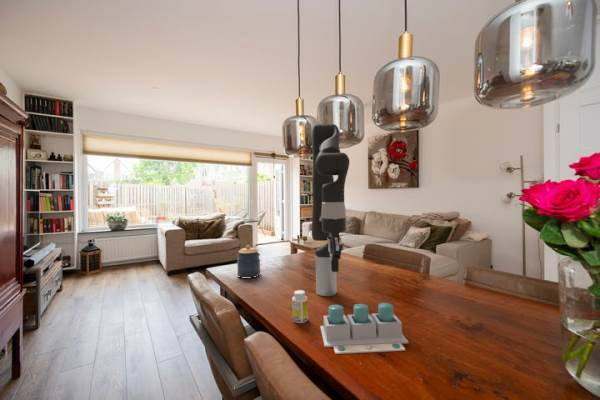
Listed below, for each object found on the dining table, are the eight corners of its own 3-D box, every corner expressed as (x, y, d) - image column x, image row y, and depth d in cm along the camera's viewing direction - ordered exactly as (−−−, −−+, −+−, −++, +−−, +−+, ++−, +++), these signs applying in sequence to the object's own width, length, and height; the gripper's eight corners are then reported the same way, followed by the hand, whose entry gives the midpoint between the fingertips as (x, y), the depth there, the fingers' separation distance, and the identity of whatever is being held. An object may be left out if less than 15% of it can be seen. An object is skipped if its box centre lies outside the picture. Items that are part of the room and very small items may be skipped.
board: (320, 327, 91) (319, 312, 91) (393, 324, 92) (392, 309, 92) (324, 347, 79) (324, 330, 79) (408, 343, 80) (408, 326, 80)
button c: (376, 321, 88) (376, 303, 88) (390, 320, 89) (390, 302, 88) (381, 328, 84) (381, 308, 84) (396, 327, 84) (395, 308, 84)
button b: (352, 322, 88) (351, 304, 88) (366, 321, 88) (365, 303, 88) (355, 329, 84) (355, 310, 83) (370, 328, 84) (370, 309, 84)
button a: (328, 323, 88) (327, 305, 88) (342, 322, 88) (341, 304, 88) (330, 330, 83) (329, 311, 83) (344, 329, 83) (344, 310, 83)
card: (333, 347, 79) (333, 345, 79) (400, 344, 80) (400, 342, 80) (335, 353, 76) (335, 351, 76) (405, 350, 77) (405, 348, 77)
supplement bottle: (307, 316, 100) (306, 288, 100) (309, 323, 95) (308, 294, 95) (292, 317, 100) (291, 289, 100) (293, 324, 94) (292, 295, 94)
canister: (233, 278, 150) (232, 246, 150) (244, 271, 162) (243, 242, 162) (254, 279, 146) (253, 247, 146) (264, 273, 158) (263, 243, 158)
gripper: (319, 215, 92) (320, 266, 92) (324, 218, 78) (325, 278, 79) (341, 214, 92) (342, 265, 92) (350, 217, 79) (351, 277, 79)
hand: (334, 271), depth 85 cm, fingers closed
